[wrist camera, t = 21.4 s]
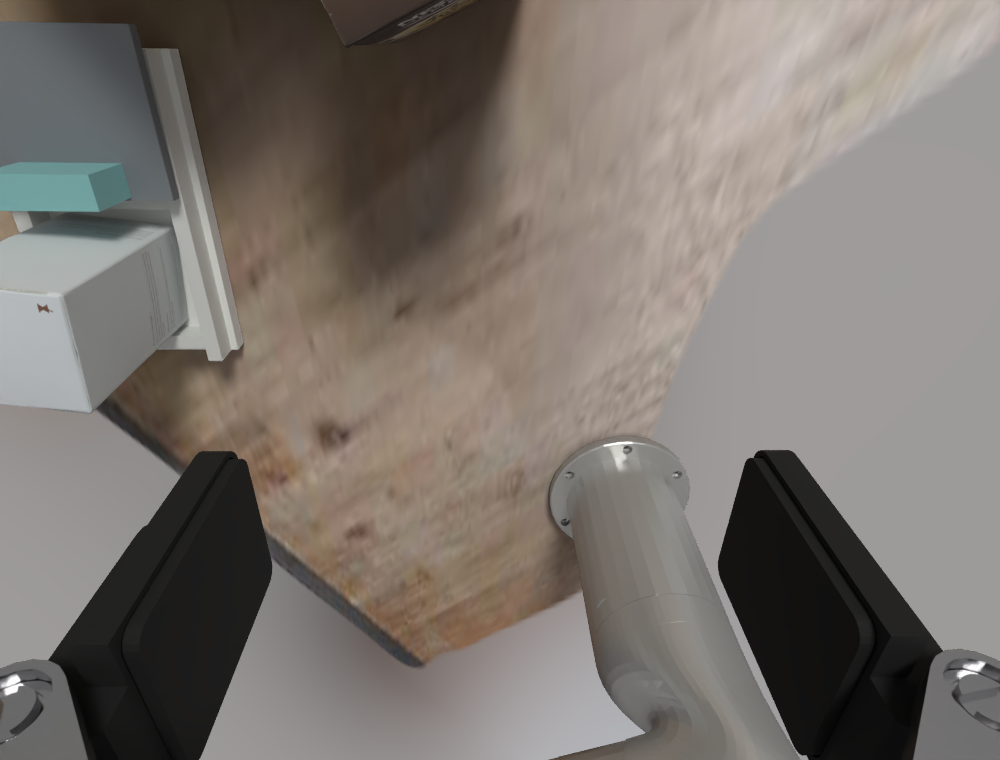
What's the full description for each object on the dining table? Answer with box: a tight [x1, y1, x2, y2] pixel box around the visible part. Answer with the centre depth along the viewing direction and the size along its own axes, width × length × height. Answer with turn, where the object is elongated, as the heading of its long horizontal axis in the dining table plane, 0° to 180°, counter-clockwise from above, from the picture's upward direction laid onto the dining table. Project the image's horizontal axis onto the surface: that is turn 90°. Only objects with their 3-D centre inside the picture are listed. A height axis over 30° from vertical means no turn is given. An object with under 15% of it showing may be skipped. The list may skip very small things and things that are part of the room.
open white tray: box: [11, 48, 244, 361], centre depth 40 cm, size 20×12×3 cm, turn 179°
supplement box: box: [0, 213, 188, 414], centre depth 36 cm, size 7×7×13 cm
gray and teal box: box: [0, 21, 179, 212], centre depth 33 cm, size 9×11×4 cm
